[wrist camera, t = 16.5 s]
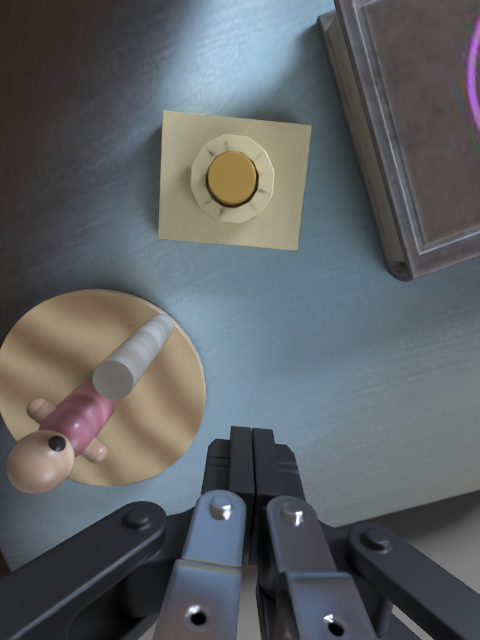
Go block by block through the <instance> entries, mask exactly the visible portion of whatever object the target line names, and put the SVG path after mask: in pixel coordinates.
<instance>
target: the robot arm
mask: <svg viewBox="0 0 480 640" xmlns="http://www.w3.org/2000/svg"><path fill="white" fill-rule="evenodd" d="M247 553H248V564H249V565H257V568H258V577H257V584H256V600H257V607H258V616H259V625H260V633H261V640H421V639H420V638H419V637H418V636H417V635H416V634H415V633H414V632H412V631H411V630H410V629H409V628H408V627H407V626H406V625H405V624H404V623H402V622H401V621H400V620H399V619H398V618H397V617H396V616H395V615H393V614H392V608H393V604H394V605H396V606H397V607H398V608H399V609H400V610H401V611H402V612H404V613H405V614H406V615H407V616H408V617H409V618H410V619H412V620H413V621H414V622H415V623H416V624H417V625H418V626H419V627H421V628H422V629H423V630H424V631H425V632H426V633H427V634H429V635H430V636H431V637H432V638H433V639H434V640H480V594H478V593H477V592H475V591H474V590H473V589H471V588H470V587H468V586H467V585H466V584H464V583H463V582H462V581H460V580H459V579H457V578H456V577H454V576H453V575H452V574H450V573H449V572H448V571H446V570H445V569H444V568H442V567H441V566H439V565H438V564H437V563H435V562H434V561H432V560H431V559H430V558H428V557H427V556H425V555H424V554H423V553H421V552H420V551H419V550H417V549H416V548H414V547H413V546H412V545H410V544H409V543H407V542H406V541H404V540H403V539H402V538H401V537H399V536H398V535H396V534H395V533H394V532H392V531H391V530H389V529H388V528H386V527H384V526H382V525H380V524H377V523H375V522H371V521H358V522H355V523H353V524H352V525H351V527H350V528H349V530H348V532H345V531H342V530H339V529H336V528H333V527H331V526H328V525H326V524H324V523H323V522H321V521H319V520H318V517H317V515H316V512H315V510H314V509H313V508H312V506H311V505H310V504H308V503H307V502H306V500H305V496H304V492H303V488H302V484H301V479H300V475H299V471H298V467H297V463H296V459H295V455H294V453H293V452H292V451H291V450H290V449H289V447H288V446H287V445H282V444H275V441H274V435H273V430H272V429H261V428H252V432H251V428H249V427H238V426H231V433H230V440H225V439H215V440H214V441H213V442H212V443H211V444H210V445H209V446H208V452H207V459H206V466H205V472H204V478H203V485H202V491H201V496H200V497H199V498H198V500H197V502H196V505H195V506H194V507H193V508H191V509H190V510H188V511H186V512H183V513H179V514H175V515H169V516H166V513H165V511H164V510H163V509H162V508H161V507H160V506H159V505H157V504H155V503H152V502H147V501H138V502H133V503H129V504H127V505H125V506H123V507H121V508H119V509H118V510H116V511H114V512H113V513H111V514H109V515H108V516H106V517H104V518H102V519H101V520H99V521H97V522H96V523H94V524H92V525H91V526H89V527H87V528H86V529H84V530H82V531H81V532H79V533H77V534H75V535H74V536H72V537H70V538H69V539H67V540H65V541H64V542H62V543H60V544H59V545H57V546H55V547H53V548H52V549H50V550H48V551H47V552H45V553H43V554H42V555H40V556H38V557H37V558H35V559H33V560H32V561H30V562H28V563H26V564H25V565H23V566H21V567H20V568H18V569H16V570H15V571H13V572H11V573H10V574H8V575H6V576H5V577H3V578H1V579H0V640H137V639H139V638H140V637H141V636H142V635H143V634H144V633H145V632H146V631H147V630H148V629H149V628H150V627H151V626H152V625H153V624H154V623H155V622H156V620H157V619H158V617H159V619H158V622H157V625H156V629H155V632H154V636H153V639H152V640H236V636H237V635H236V634H237V623H238V612H239V600H240V587H241V574H242V564H246V561H247ZM159 614H160V615H159Z"/></svg>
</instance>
